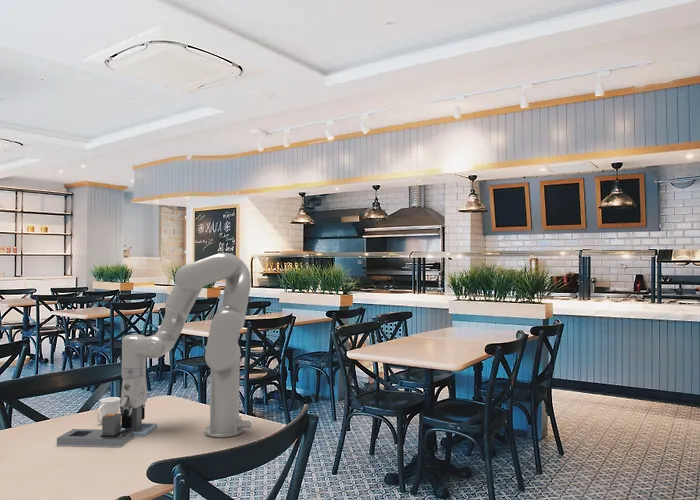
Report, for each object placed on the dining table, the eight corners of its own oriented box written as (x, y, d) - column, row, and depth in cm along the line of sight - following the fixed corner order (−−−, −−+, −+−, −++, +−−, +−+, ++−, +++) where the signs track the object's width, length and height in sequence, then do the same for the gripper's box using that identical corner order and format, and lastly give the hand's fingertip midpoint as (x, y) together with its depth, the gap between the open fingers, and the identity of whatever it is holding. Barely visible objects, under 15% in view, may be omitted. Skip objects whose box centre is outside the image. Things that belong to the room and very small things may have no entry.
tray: (156, 428, 189) (157, 423, 189) (144, 438, 179) (144, 432, 179) (122, 428, 189) (122, 422, 189) (108, 437, 179) (108, 431, 179)
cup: (124, 420, 199) (125, 397, 199) (106, 428, 189) (107, 404, 189) (107, 418, 200) (107, 396, 200) (88, 426, 191) (89, 403, 191)
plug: (141, 429, 186) (141, 404, 186) (136, 433, 182) (136, 407, 182) (130, 429, 186) (130, 404, 186) (124, 433, 182) (124, 407, 182)
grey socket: (133, 439, 177) (133, 410, 177) (120, 449, 168) (120, 418, 168) (73, 438, 178) (73, 409, 179) (56, 447, 169) (57, 417, 170)
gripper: (133, 377, 175) (132, 431, 175) (155, 367, 193) (154, 416, 192) (110, 377, 176) (109, 431, 176) (134, 366, 193) (133, 415, 193)
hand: (133, 423), depth 184 cm, fingers open, 9 cm apart
